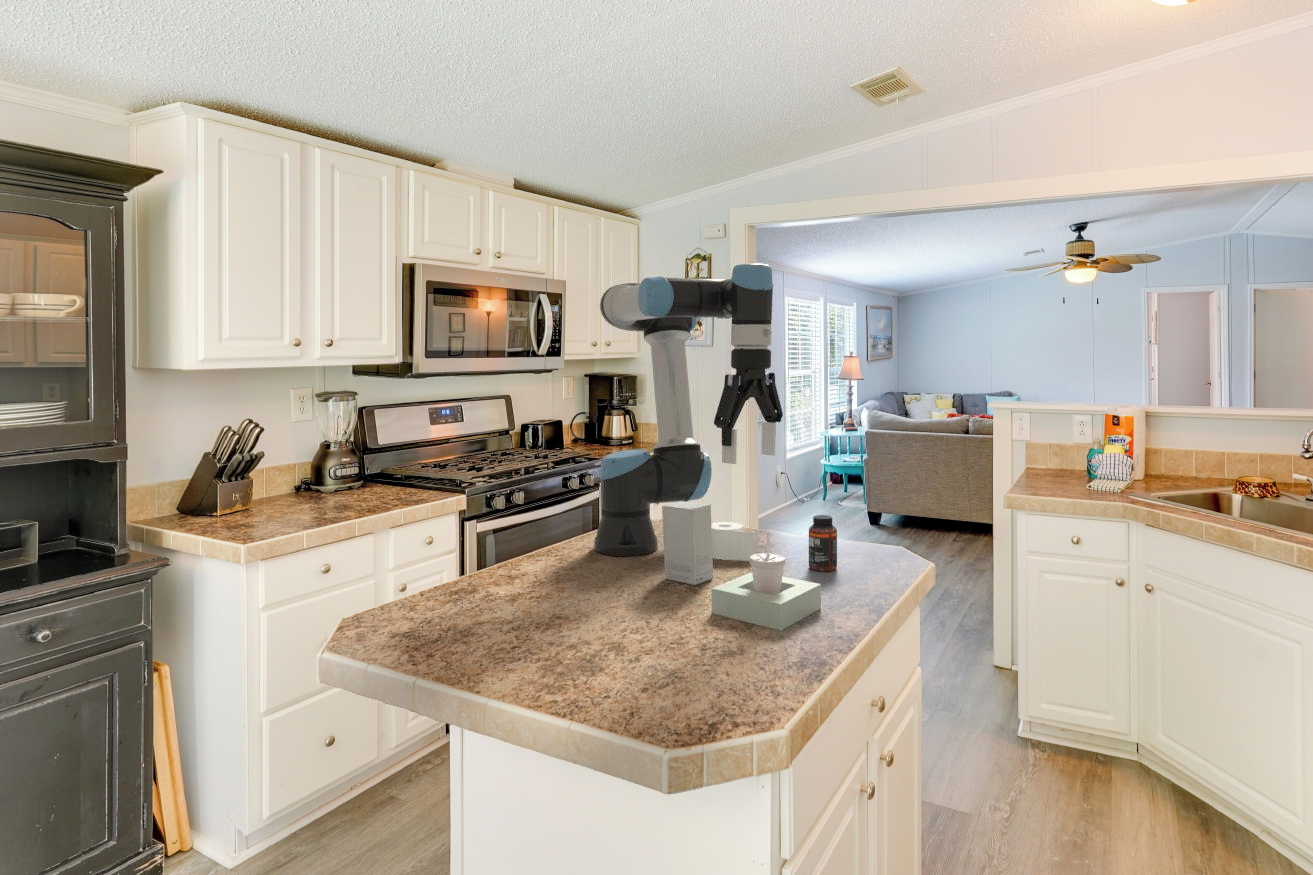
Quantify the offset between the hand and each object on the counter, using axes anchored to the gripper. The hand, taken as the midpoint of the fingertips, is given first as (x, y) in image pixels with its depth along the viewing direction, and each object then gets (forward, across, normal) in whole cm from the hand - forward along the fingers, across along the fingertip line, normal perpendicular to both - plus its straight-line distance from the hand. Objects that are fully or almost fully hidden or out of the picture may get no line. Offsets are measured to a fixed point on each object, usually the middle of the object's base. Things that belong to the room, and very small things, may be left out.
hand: (749, 458), depth 143 cm
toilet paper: (+27, +17, +16) cm, 35 cm away
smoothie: (+25, -10, -10) cm, 29 cm away
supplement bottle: (+26, +21, -5) cm, 34 cm away
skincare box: (+26, -3, +12) cm, 29 cm away
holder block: (+25, -10, -10) cm, 29 cm away
